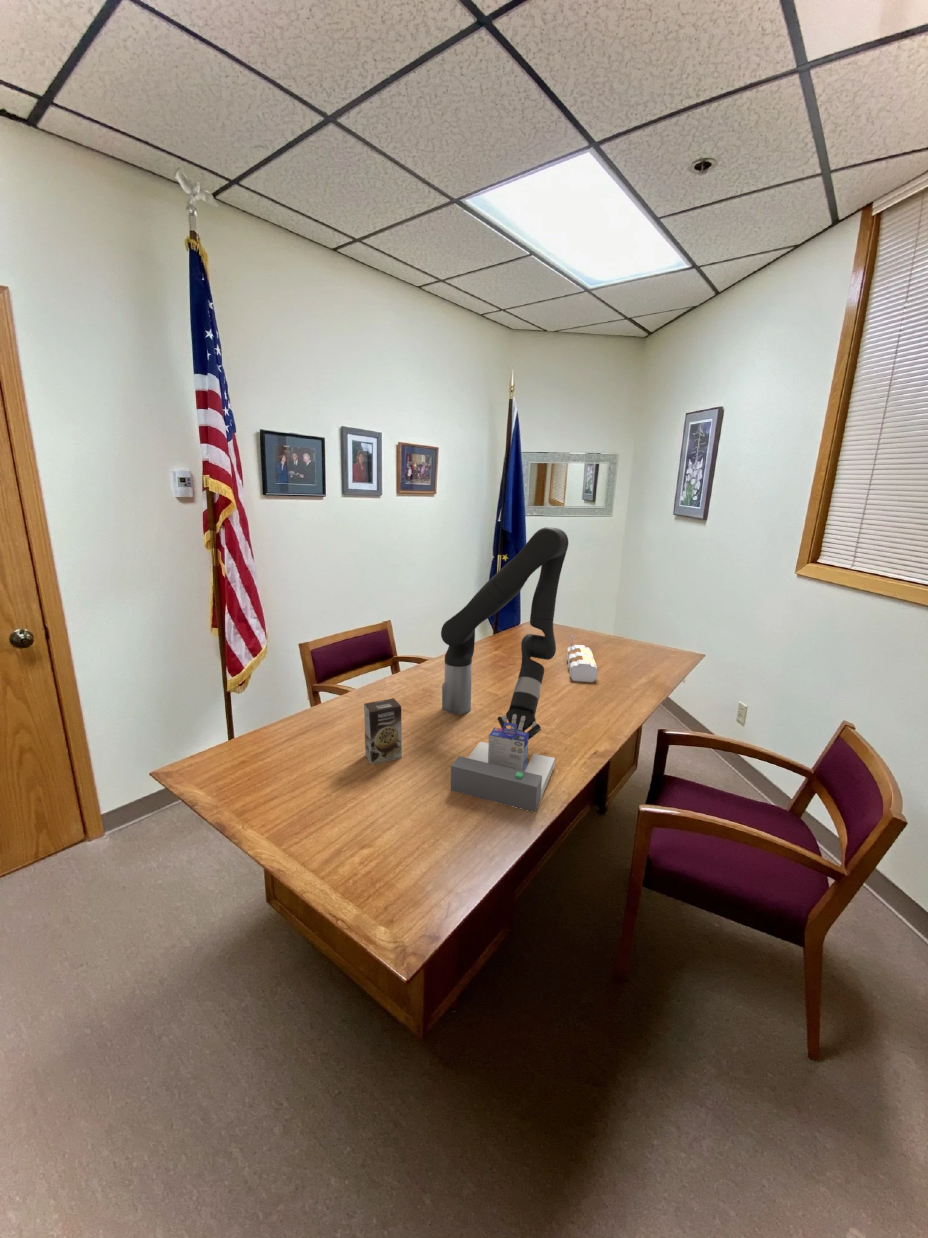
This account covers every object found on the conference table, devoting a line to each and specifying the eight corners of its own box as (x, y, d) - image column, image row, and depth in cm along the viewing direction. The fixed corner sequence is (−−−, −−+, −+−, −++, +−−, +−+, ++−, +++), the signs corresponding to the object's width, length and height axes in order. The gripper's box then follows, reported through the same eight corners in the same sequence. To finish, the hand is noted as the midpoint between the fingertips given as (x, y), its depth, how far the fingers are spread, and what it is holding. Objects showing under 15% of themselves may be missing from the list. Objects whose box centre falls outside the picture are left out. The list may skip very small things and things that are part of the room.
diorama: (566, 660, 219) (568, 633, 215) (589, 662, 217) (592, 634, 214) (569, 681, 195) (572, 650, 192) (596, 683, 194) (599, 652, 190)
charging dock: (450, 790, 122) (450, 763, 120) (479, 750, 141) (480, 727, 139) (535, 812, 114) (537, 784, 112) (554, 767, 133) (556, 743, 131)
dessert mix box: (371, 765, 133) (369, 712, 128) (364, 754, 138) (362, 702, 134) (402, 758, 137) (401, 705, 132) (395, 747, 142) (394, 697, 138)
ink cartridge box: (527, 772, 130) (530, 724, 127) (523, 784, 125) (525, 733, 122) (492, 765, 134) (494, 718, 130) (486, 776, 128) (488, 727, 125)
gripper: (501, 686, 140) (485, 744, 132) (546, 694, 135) (532, 755, 127) (506, 696, 146) (491, 752, 138) (549, 704, 141) (536, 763, 133)
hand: (511, 753), depth 132 cm, fingers closed
